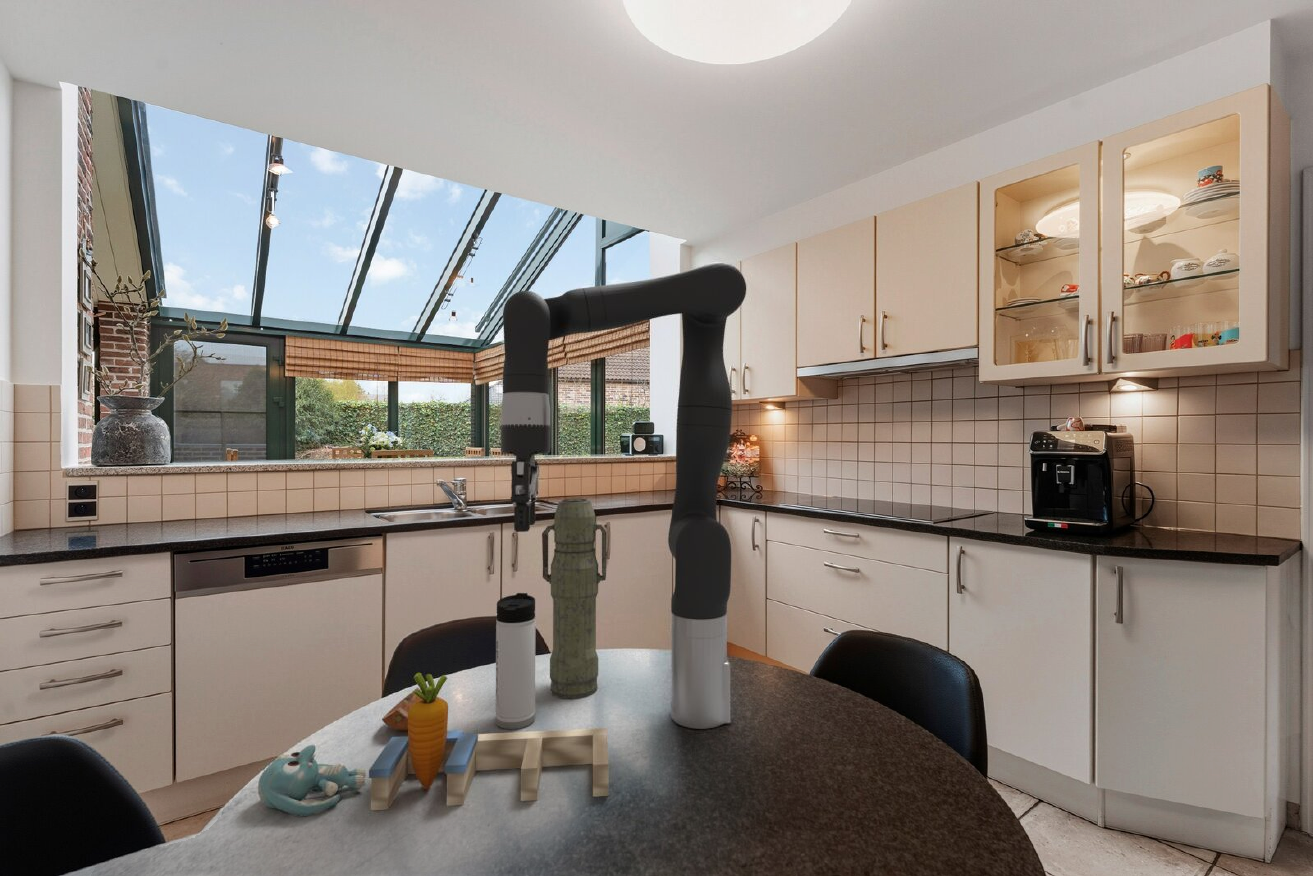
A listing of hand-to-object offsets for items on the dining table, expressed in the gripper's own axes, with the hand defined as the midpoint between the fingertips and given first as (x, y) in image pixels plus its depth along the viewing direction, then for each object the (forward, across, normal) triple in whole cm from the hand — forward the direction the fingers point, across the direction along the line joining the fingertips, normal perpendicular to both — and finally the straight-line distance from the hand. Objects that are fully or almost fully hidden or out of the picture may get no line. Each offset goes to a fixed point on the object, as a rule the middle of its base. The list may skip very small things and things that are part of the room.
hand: (525, 527), depth 92 cm
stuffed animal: (+32, -13, +25) cm, 43 cm away
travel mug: (+32, +6, +2) cm, 33 cm away
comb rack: (+32, -13, +2) cm, 35 cm away
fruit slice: (+32, +5, +19) cm, 38 cm away
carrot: (+32, -13, +11) cm, 36 cm away
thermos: (+32, +18, -7) cm, 38 cm away
